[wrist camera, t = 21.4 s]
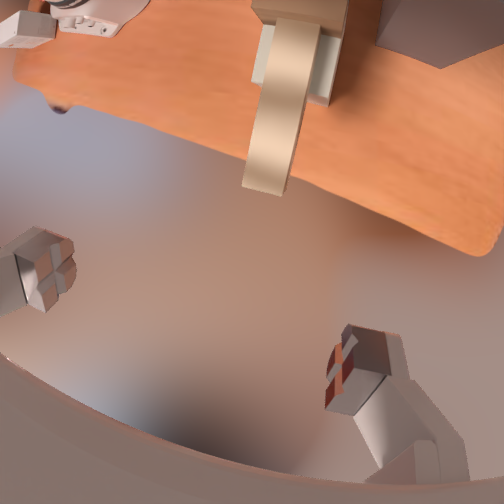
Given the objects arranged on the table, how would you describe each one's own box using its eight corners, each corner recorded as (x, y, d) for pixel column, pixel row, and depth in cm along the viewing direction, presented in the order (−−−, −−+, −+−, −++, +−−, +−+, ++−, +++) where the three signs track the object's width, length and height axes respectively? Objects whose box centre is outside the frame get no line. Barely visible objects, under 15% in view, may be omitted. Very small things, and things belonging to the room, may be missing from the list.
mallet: (304, 194, 29) (299, 208, 24) (232, 175, 30) (214, 186, 25) (351, -14, 20) (354, -37, 15) (275, -27, 21) (265, -50, 16)
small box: (58, 15, 41) (20, 9, 31) (55, 39, 43) (16, 35, 33) (34, 26, 42) (-2, 23, 33) (32, 49, 44) (-5, 47, 35)
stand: (278, 95, 41) (250, 81, 26) (295, 20, 36) (276, -28, 21) (328, 107, 40) (328, 97, 25) (344, 30, 35) (351, -16, 20)
